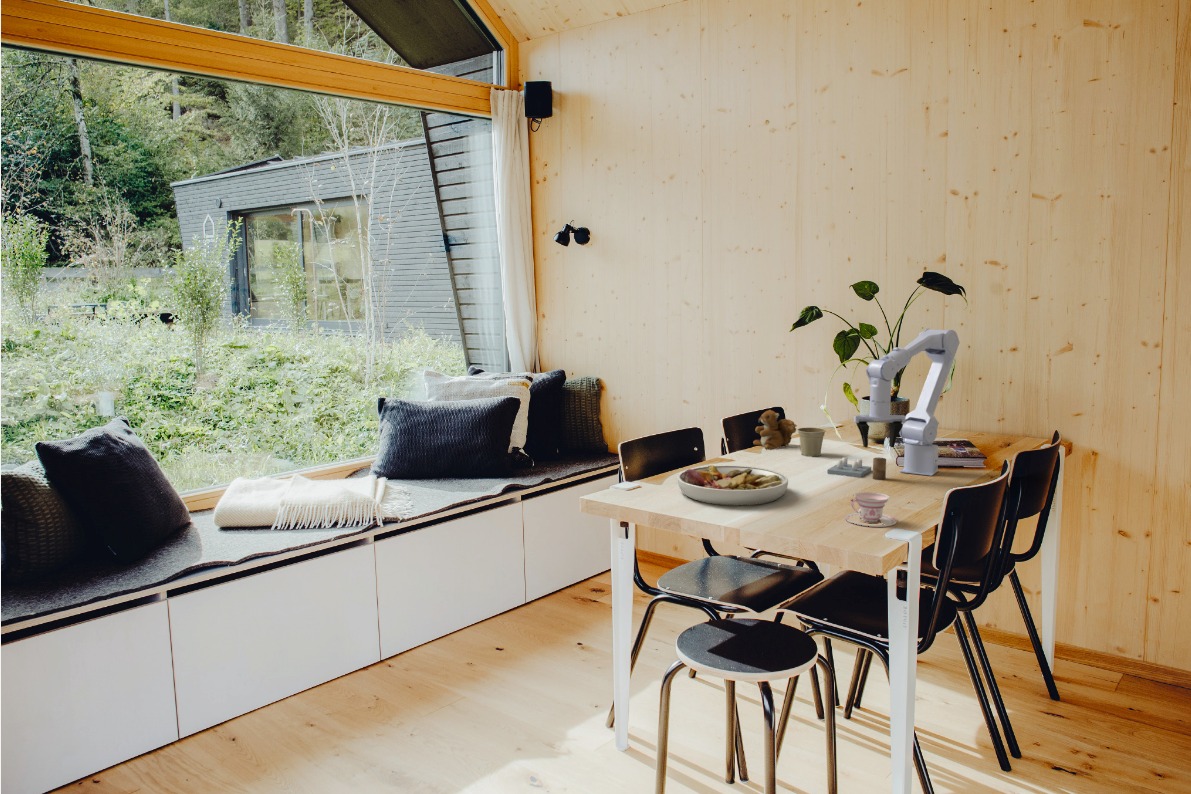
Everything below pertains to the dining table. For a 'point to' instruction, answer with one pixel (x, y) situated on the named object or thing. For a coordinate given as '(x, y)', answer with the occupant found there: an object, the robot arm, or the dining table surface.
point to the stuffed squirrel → (774, 431)
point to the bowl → (732, 485)
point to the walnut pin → (879, 468)
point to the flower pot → (811, 440)
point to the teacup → (871, 509)
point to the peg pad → (849, 468)
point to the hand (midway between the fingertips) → (878, 446)
